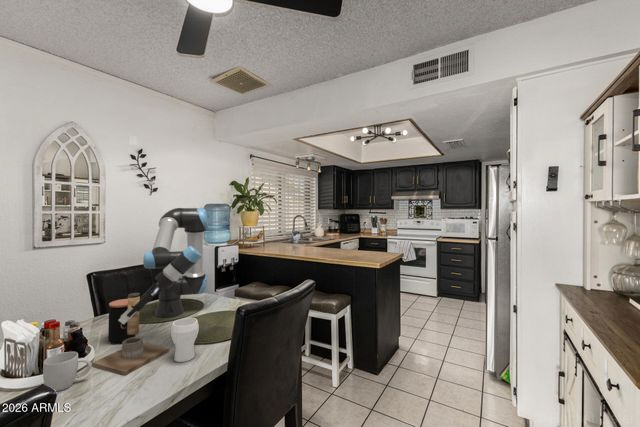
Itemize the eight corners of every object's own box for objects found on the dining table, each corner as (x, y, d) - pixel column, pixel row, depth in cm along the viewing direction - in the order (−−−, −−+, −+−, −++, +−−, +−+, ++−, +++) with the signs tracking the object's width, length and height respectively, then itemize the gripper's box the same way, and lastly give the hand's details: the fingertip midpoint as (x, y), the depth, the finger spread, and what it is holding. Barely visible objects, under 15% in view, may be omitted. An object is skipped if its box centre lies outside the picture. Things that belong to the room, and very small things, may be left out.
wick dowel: (134, 330, 121) (134, 292, 121) (141, 331, 120) (141, 293, 120) (124, 333, 117) (125, 294, 117) (132, 335, 116) (132, 295, 116)
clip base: (138, 344, 131) (139, 328, 131) (169, 351, 125) (169, 334, 125) (91, 366, 112) (92, 347, 112) (125, 375, 106) (125, 355, 107)
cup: (171, 354, 123) (172, 319, 123) (198, 349, 128) (198, 316, 128) (169, 366, 114) (170, 328, 114) (198, 361, 118) (199, 324, 118)
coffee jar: (121, 346, 130) (122, 306, 130) (102, 343, 132) (102, 304, 132) (140, 336, 140) (141, 299, 140) (122, 334, 142) (123, 297, 142)
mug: (39, 398, 93) (40, 367, 93) (45, 384, 100) (46, 355, 100) (90, 385, 100) (90, 356, 100) (91, 373, 108) (92, 346, 108)
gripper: (175, 286, 118) (126, 333, 110) (175, 278, 133) (132, 318, 126) (160, 274, 116) (109, 321, 108) (163, 267, 131) (118, 308, 123)
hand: (122, 320), depth 117 cm, fingers closed on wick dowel, 4 cm apart
